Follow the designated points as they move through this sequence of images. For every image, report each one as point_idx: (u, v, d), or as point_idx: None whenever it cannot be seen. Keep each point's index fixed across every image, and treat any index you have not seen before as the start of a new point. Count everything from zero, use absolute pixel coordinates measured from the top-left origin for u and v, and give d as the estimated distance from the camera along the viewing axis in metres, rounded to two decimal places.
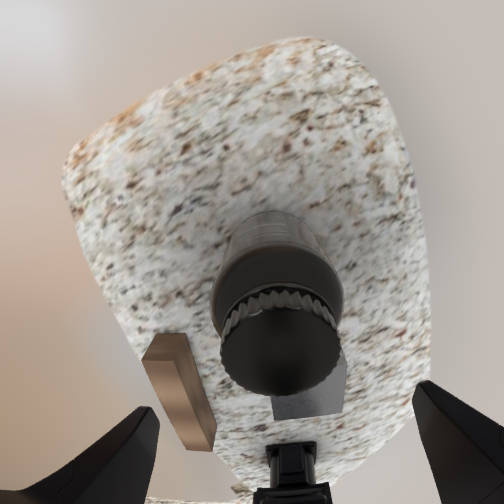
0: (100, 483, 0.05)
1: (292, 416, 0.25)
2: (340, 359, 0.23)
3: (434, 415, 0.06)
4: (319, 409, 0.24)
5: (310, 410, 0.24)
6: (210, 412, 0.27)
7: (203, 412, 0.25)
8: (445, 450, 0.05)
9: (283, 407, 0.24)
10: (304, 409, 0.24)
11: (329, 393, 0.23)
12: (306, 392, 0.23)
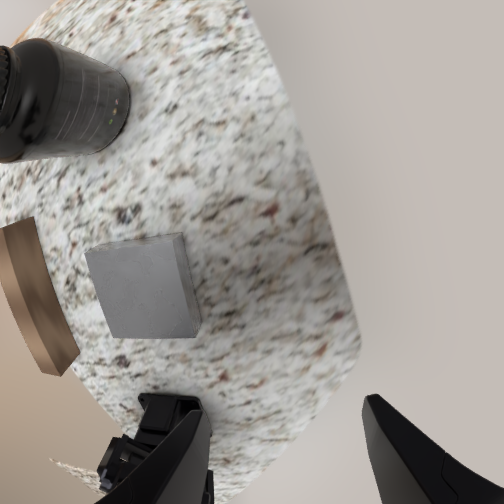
0: (162, 499, 0.04)
1: (131, 333, 0.19)
2: (169, 238, 0.17)
3: (377, 432, 0.06)
4: (160, 325, 0.19)
5: (149, 325, 0.19)
6: (64, 328, 0.21)
7: (48, 318, 0.19)
8: (387, 471, 0.05)
9: (115, 314, 0.19)
10: (140, 321, 0.19)
11: (163, 294, 0.18)
12: (132, 289, 0.18)
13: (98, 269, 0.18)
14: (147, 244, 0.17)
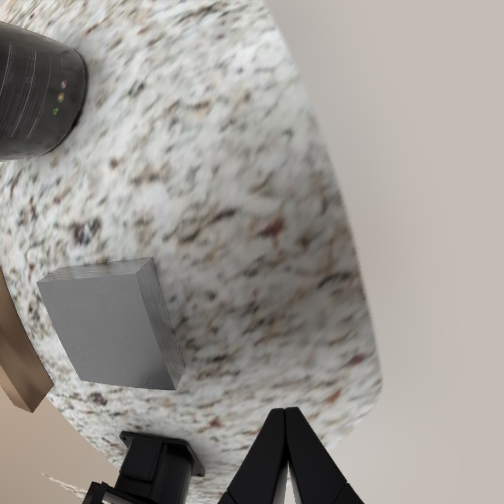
0: None
1: (99, 378, 0.14)
2: (134, 267, 0.12)
3: (287, 447, 0.06)
4: (131, 373, 0.14)
5: (118, 372, 0.14)
6: (33, 358, 0.16)
7: (13, 349, 0.14)
8: (293, 487, 0.05)
9: (78, 356, 0.14)
10: (107, 366, 0.14)
11: (130, 339, 0.13)
12: (94, 330, 0.13)
13: (53, 303, 0.12)
14: (104, 276, 0.12)
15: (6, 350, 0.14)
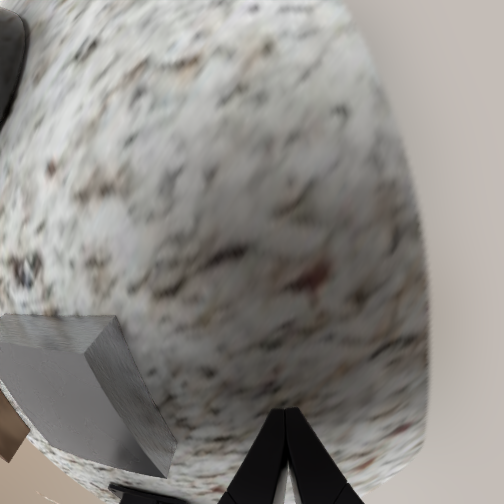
0: None
1: (71, 450, 0.09)
2: (85, 337, 0.07)
3: (287, 447, 0.06)
4: (106, 455, 0.08)
5: (91, 451, 0.08)
6: (3, 404, 0.11)
7: None
8: (293, 487, 0.05)
9: (42, 425, 0.08)
10: (77, 443, 0.08)
11: (97, 426, 0.07)
12: (50, 406, 0.07)
13: None
14: (45, 348, 0.06)
15: None
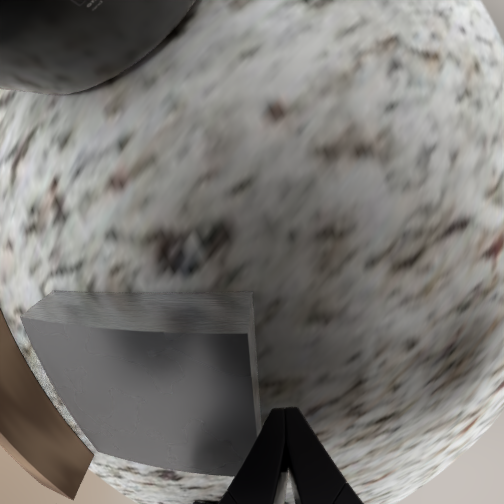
0: None
1: (130, 456, 0.08)
2: (230, 314, 0.06)
3: (286, 447, 0.06)
4: (191, 460, 0.08)
5: (167, 457, 0.08)
6: (63, 430, 0.10)
7: (33, 425, 0.08)
8: (293, 488, 0.05)
9: (97, 429, 0.08)
10: (149, 449, 0.08)
11: (205, 427, 0.07)
12: (131, 407, 0.07)
13: (51, 355, 0.06)
14: (169, 331, 0.06)
15: (23, 430, 0.08)
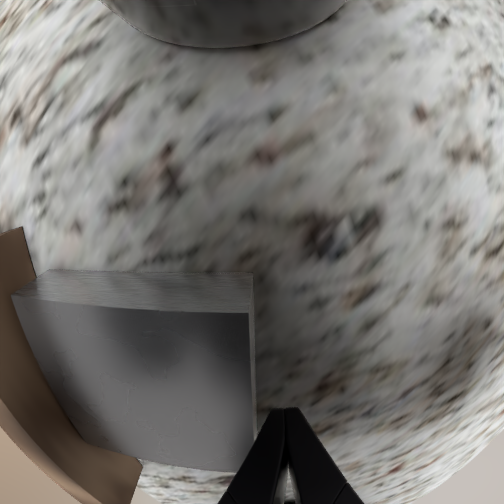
0: None
1: (120, 448, 0.08)
2: (230, 294, 0.06)
3: (287, 447, 0.06)
4: (183, 453, 0.07)
5: (158, 449, 0.07)
6: None
7: (84, 443, 0.08)
8: (293, 487, 0.05)
9: (85, 418, 0.07)
10: (139, 441, 0.07)
11: (199, 417, 0.07)
12: (121, 395, 0.07)
13: (41, 336, 0.06)
14: (165, 309, 0.06)
15: (75, 450, 0.07)
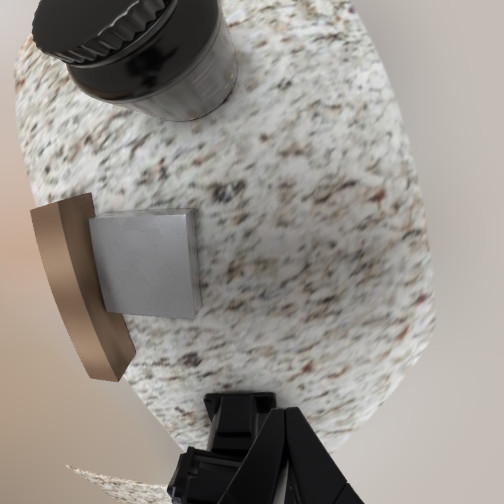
0: None
1: (126, 308, 0.18)
2: (181, 212, 0.17)
3: (287, 447, 0.06)
4: (159, 302, 0.18)
5: (147, 301, 0.18)
6: (121, 324, 0.21)
7: (105, 313, 0.19)
8: (294, 487, 0.05)
9: (112, 286, 0.18)
10: (138, 296, 0.18)
11: (167, 270, 0.17)
12: (135, 261, 0.17)
13: (101, 237, 0.17)
14: (158, 215, 0.16)
15: (100, 314, 0.18)
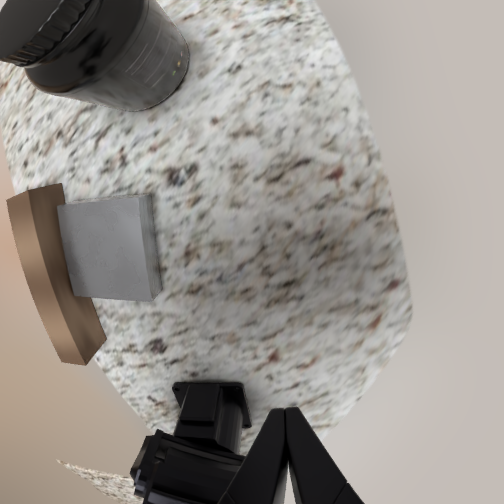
0: None
1: (91, 292, 0.18)
2: (137, 196, 0.17)
3: (287, 447, 0.06)
4: (119, 284, 0.18)
5: (108, 284, 0.18)
6: (90, 310, 0.21)
7: (73, 297, 0.18)
8: (293, 487, 0.05)
9: (77, 270, 0.18)
10: (100, 279, 0.18)
11: (124, 252, 0.17)
12: (96, 244, 0.17)
13: (67, 222, 0.17)
14: (115, 199, 0.16)
15: (67, 297, 0.18)
